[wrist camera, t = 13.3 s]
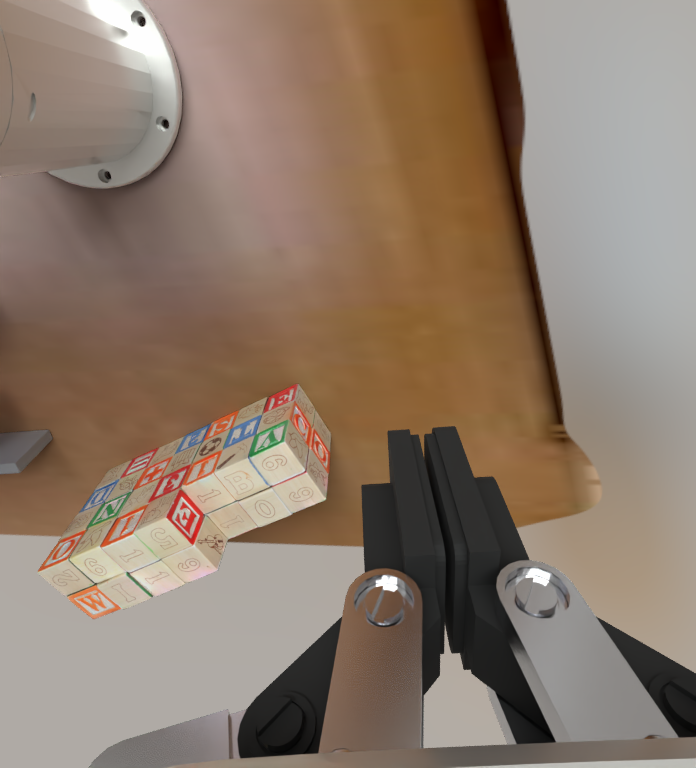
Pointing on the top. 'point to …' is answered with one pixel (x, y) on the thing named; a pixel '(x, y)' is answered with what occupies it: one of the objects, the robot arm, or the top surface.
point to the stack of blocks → (191, 504)
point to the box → (21, 449)
